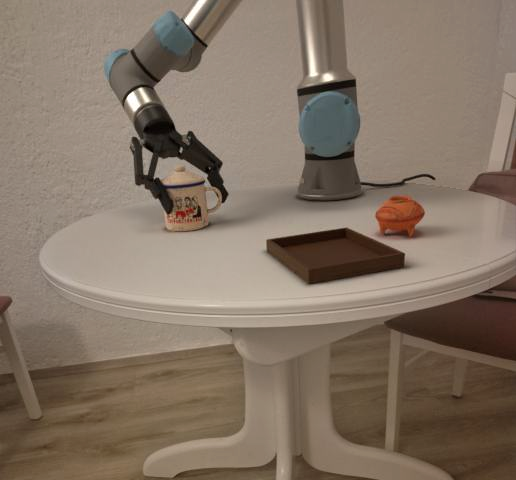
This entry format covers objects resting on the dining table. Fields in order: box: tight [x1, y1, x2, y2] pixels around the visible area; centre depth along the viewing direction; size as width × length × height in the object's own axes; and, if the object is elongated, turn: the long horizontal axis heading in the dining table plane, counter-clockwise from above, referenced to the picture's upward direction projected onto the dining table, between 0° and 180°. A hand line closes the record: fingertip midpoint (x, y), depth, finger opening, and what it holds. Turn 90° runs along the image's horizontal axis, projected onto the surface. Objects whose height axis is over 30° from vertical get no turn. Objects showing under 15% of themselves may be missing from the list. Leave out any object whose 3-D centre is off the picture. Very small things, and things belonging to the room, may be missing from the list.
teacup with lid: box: [160, 164, 222, 232], centre depth 95 cm, size 12×9×12 cm
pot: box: [374, 194, 426, 238], centre depth 80 cm, size 8×8×7 cm
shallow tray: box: [265, 227, 406, 285], centre depth 71 cm, size 14×17×2 cm
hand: (198, 204), depth 94 cm, fingers open, 12 cm apart
